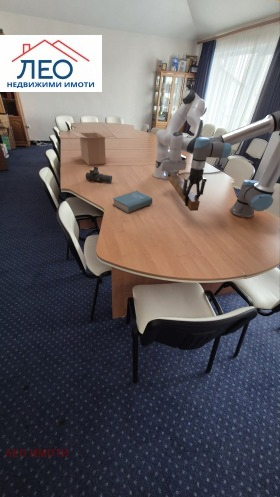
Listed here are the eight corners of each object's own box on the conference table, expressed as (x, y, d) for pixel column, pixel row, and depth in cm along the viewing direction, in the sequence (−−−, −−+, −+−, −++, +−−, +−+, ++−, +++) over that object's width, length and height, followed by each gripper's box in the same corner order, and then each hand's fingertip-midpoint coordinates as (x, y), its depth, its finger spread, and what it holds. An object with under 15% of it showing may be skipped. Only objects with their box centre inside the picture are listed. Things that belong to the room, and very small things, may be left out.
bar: (165, 176, 177) (166, 168, 173) (171, 176, 178) (172, 168, 174) (190, 210, 134) (192, 201, 130) (197, 210, 135) (200, 201, 131)
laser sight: (109, 184, 185) (109, 172, 179) (84, 181, 187) (82, 169, 182) (112, 180, 192) (112, 169, 186) (88, 177, 195) (87, 166, 189)
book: (136, 197, 168) (136, 190, 165) (151, 204, 159) (152, 197, 156) (113, 204, 154) (112, 198, 151) (128, 213, 145) (128, 206, 142)
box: (116, 165, 229) (116, 136, 213) (83, 168, 214) (80, 137, 198) (102, 154, 259) (101, 128, 243) (71, 156, 244) (68, 129, 228)
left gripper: (162, 158, 157) (160, 178, 165) (188, 158, 163) (185, 176, 171) (159, 156, 162) (157, 175, 170) (184, 155, 167) (181, 174, 176)
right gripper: (184, 170, 121) (178, 208, 135) (215, 169, 124) (206, 207, 138) (180, 166, 127) (174, 203, 141) (209, 165, 130) (201, 202, 144)
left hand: (171, 175), depth 171 cm, fingers closed on bar, 5 cm apart
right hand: (190, 205), depth 139 cm, fingers closed on bar, 5 cm apart
